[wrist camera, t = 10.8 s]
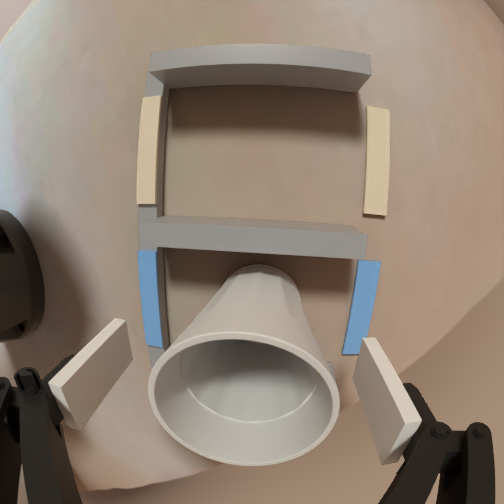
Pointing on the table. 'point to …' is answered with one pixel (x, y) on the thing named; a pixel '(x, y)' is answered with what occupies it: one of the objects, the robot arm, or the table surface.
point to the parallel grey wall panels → (253, 230)
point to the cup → (247, 375)
